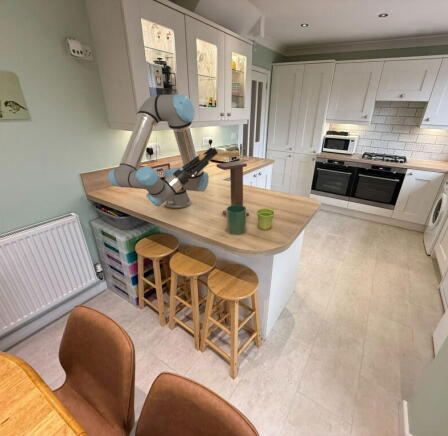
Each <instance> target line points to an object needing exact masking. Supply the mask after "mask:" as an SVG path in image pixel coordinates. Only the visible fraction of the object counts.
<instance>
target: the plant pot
mask: <svg viewBox="0 0 448 436" xmlns="http://www.w3.org/2000/svg"><path fill="white" fill-rule="evenodd" d="M256 215H257V221H258V228H259V229H261V230H269V229H271V228H272V222H273V218H274V216H275V215H276V212H275V210H273V209H271V208H264V207H263V208H259V209H257V210H256Z"/></svg>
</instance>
